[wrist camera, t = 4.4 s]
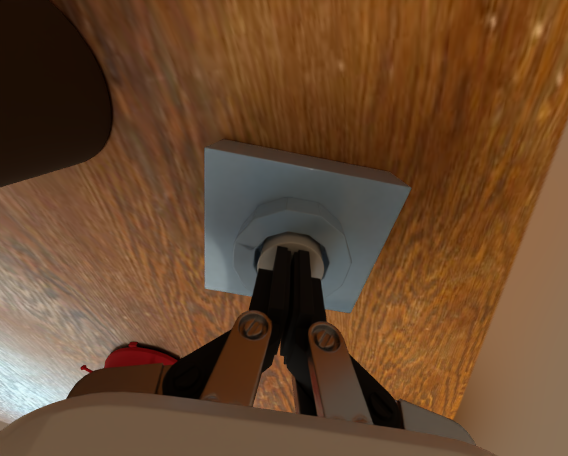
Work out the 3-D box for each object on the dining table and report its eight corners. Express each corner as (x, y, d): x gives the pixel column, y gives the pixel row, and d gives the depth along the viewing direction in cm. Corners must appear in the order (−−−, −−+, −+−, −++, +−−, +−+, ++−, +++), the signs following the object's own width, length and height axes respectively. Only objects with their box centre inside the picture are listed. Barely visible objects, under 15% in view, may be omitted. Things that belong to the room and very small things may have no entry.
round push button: (327, 229, 13) (332, 249, 11) (312, 275, 14) (314, 299, 13) (266, 218, 13) (261, 236, 11) (259, 266, 14) (253, 289, 13)
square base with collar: (390, 171, 14) (430, 200, 10) (342, 283, 19) (356, 335, 15) (222, 138, 14) (188, 154, 10) (218, 261, 19) (194, 308, 14)
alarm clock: (156, 372, 21) (185, 473, 25) (188, 326, 27) (207, 414, 31) (59, 371, 22) (102, 468, 26) (110, 327, 28) (139, 411, 32)
